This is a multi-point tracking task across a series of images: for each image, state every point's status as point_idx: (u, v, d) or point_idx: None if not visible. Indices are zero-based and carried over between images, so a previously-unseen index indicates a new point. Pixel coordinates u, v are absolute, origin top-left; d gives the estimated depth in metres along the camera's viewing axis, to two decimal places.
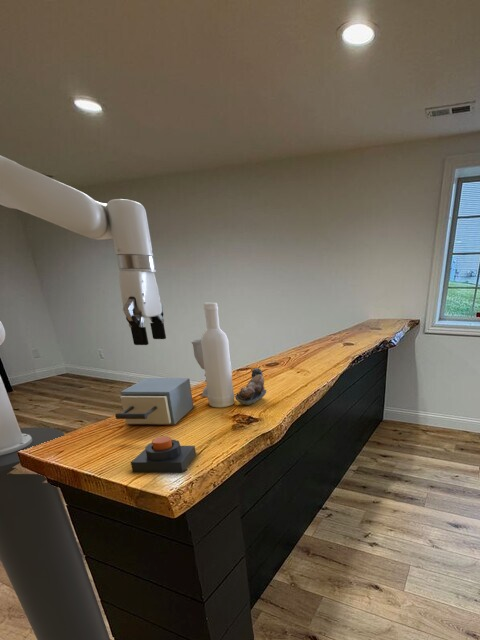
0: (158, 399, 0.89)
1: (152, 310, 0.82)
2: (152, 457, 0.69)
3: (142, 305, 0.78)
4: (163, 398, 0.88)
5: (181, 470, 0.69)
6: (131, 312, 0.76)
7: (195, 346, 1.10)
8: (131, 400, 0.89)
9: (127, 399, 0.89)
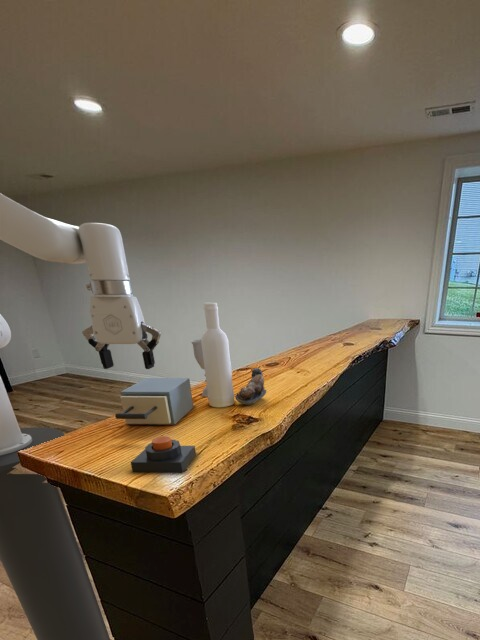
0: (158, 399, 0.89)
1: None
2: (152, 457, 0.69)
3: None
4: (163, 398, 0.88)
5: (181, 470, 0.69)
6: None
7: (195, 346, 1.10)
8: (131, 400, 0.89)
9: (127, 399, 0.89)
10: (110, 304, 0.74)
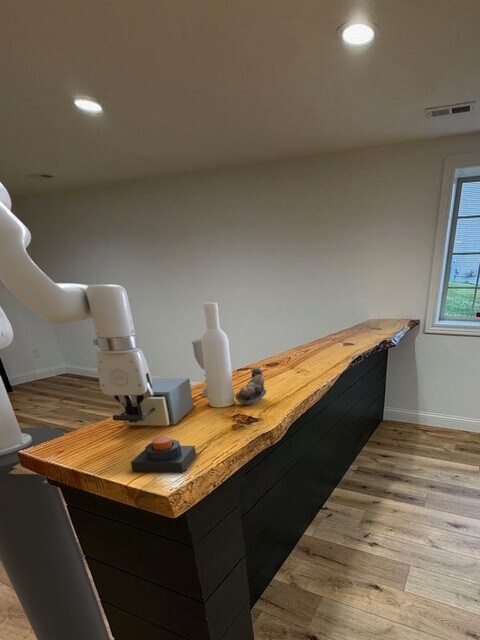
0: (156, 401, 0.87)
1: None
2: (152, 457, 0.69)
3: None
4: (161, 399, 0.87)
5: (181, 470, 0.69)
6: None
7: (195, 346, 1.10)
8: None
9: None
10: (116, 360, 0.76)
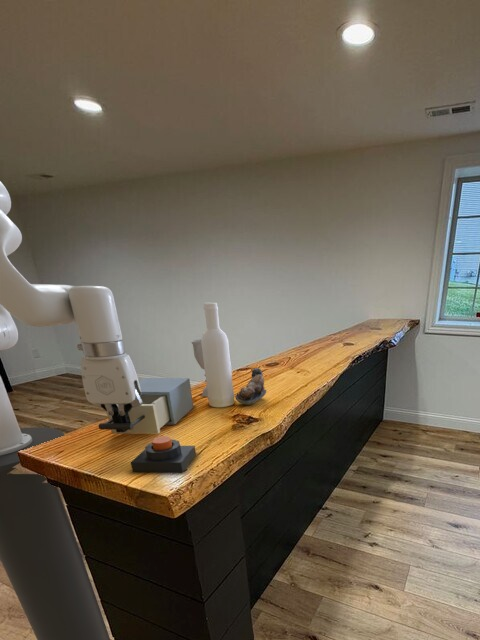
0: (146, 408, 0.82)
1: None
2: (152, 457, 0.69)
3: None
4: (151, 406, 0.82)
5: (181, 470, 0.69)
6: None
7: (195, 346, 1.10)
8: None
9: None
10: (101, 366, 0.71)
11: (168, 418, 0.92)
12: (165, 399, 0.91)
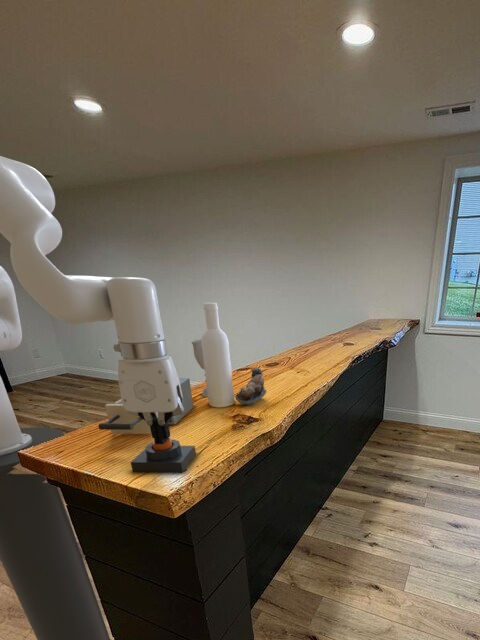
0: None
1: None
2: (152, 457, 0.69)
3: None
4: None
5: (181, 470, 0.69)
6: None
7: (195, 346, 1.10)
8: (117, 409, 0.82)
9: (112, 407, 0.82)
10: (142, 370, 0.63)
11: None
12: None
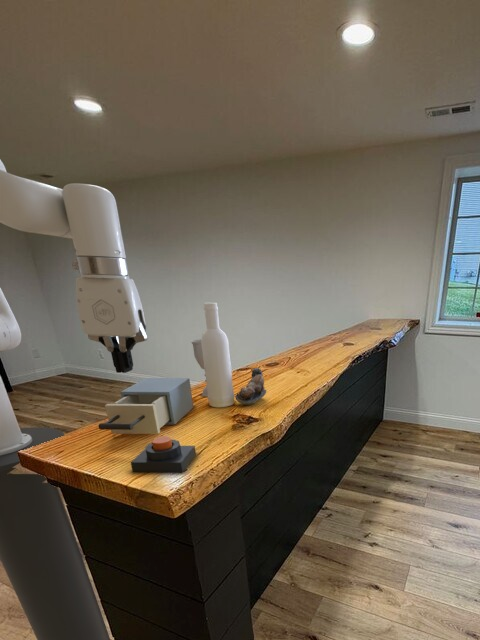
0: (146, 408, 0.82)
1: None
2: (152, 457, 0.69)
3: None
4: (151, 406, 0.82)
5: (181, 470, 0.69)
6: None
7: (195, 346, 1.10)
8: (117, 409, 0.82)
9: (112, 407, 0.82)
10: (100, 287, 0.60)
11: (168, 418, 0.92)
12: (165, 399, 0.91)
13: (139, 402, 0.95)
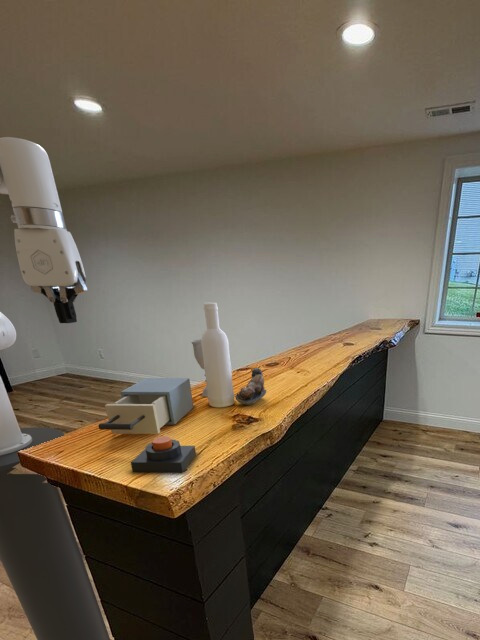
0: (146, 408, 0.82)
1: None
2: (152, 457, 0.69)
3: None
4: (151, 406, 0.82)
5: (181, 470, 0.69)
6: None
7: (195, 346, 1.10)
8: (117, 409, 0.82)
9: (112, 407, 0.82)
10: (36, 238, 0.65)
11: (168, 418, 0.92)
12: (165, 399, 0.91)
13: (139, 402, 0.95)
